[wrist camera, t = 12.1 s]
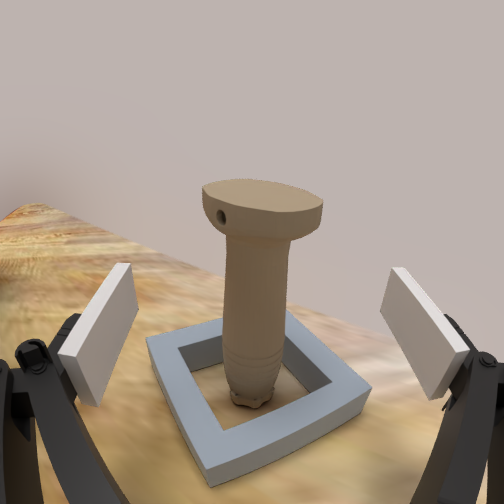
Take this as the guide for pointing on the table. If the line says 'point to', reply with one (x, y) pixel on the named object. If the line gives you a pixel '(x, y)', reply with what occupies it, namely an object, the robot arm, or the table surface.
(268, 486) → the table surface
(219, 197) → the handle
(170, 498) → the table surface
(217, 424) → the socket block
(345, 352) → the table surface
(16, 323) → the table surface
